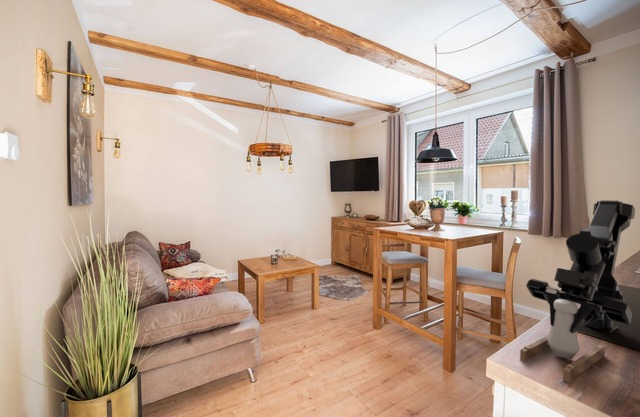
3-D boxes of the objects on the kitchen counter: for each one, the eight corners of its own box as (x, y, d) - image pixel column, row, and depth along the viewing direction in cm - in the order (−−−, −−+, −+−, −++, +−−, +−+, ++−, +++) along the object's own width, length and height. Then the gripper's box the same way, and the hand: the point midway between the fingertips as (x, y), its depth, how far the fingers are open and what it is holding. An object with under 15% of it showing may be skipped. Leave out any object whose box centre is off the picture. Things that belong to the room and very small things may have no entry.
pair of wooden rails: (558, 338, 76) (558, 328, 76) (604, 356, 68) (605, 345, 68) (520, 359, 67) (520, 348, 66) (568, 382, 59) (569, 370, 58)
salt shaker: (585, 362, 64) (589, 307, 63) (556, 359, 65) (559, 305, 64) (568, 348, 70) (571, 297, 69) (542, 345, 71) (544, 295, 70)
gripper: (531, 249, 76) (506, 296, 71) (631, 265, 59) (608, 328, 55) (544, 273, 80) (521, 319, 75) (640, 294, 64) (620, 355, 59)
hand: (561, 328), depth 66 cm, fingers closed on salt shaker, 3 cm apart
